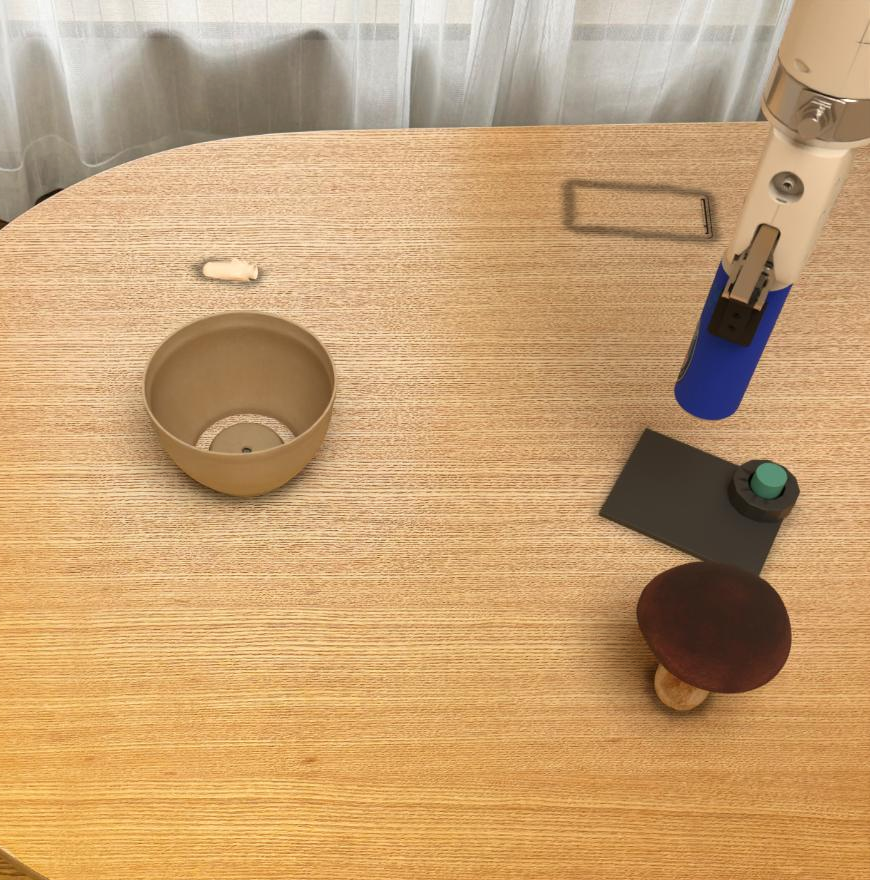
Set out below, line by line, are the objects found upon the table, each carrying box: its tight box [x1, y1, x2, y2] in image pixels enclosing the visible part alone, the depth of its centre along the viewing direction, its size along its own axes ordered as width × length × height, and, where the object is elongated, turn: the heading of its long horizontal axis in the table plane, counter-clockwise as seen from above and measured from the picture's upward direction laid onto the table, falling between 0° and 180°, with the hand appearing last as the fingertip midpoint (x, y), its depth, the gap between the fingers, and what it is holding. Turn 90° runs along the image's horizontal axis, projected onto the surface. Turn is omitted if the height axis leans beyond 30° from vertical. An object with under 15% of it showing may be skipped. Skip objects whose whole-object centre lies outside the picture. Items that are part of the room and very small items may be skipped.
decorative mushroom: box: [635, 560, 793, 711], centre depth 86 cm, size 11×11×15 cm
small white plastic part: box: [202, 257, 259, 282], centre depth 118 cm, size 4×6×3 cm, turn 54°
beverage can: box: [673, 246, 794, 422], centre depth 87 cm, size 5×5×15 cm
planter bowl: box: [141, 309, 338, 498], centre depth 101 cm, size 16×16×11 cm
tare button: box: [750, 463, 787, 499], centre depth 100 cm, size 3×3×2 cm
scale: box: [598, 427, 801, 577], centre depth 102 cm, size 14×11×4 cm
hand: (742, 310), depth 85 cm, fingers closed on beverage can, 5 cm apart
